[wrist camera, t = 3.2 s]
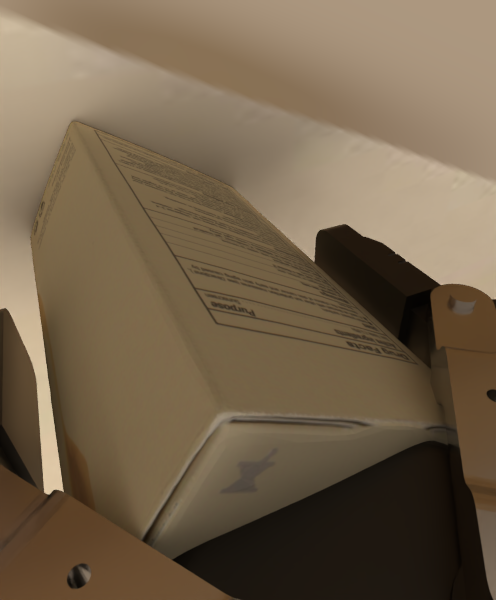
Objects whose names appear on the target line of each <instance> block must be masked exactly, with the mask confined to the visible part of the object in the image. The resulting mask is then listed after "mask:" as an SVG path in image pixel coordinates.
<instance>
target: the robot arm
mask: <svg viewBox="0 0 496 600" xmlns="http://www.w3.org/2000/svg"><path fill="white" fill-rule="evenodd" d="M315 264H316V265H318V266H319V267H320V268H321V269H322V270H323V271H324V272H325V273H326V274H327V275H329V276H330V277H331V278H332V279H333V280H334V281H335V282H336V283H337V284H338V285H339V286H341V287H342V288H343V289H344V290H345V291H346V292H347V293H348V294H349V295H350V296H351V297H353V298H354V299H355V300H356V301H357V302H358V303H359V304H360V305H361V306H362V307H363V308H365V309H366V310H367V311H368V312H369V313H370V314H371V315H372V316H373V317H374V318H375V319H376V320H377V321H379V322H380V323H381V324H382V325H383V326H384V327H385V328H386V329H387V330H388V331H389V332H390V333H391V334H393V335H394V336H395V337H396V338H397V339H398V340H399V341H400V342H401V343H402V344H404V345H405V346H406V347H407V348H408V349H409V350H410V351H411V352H412V353H413V354H415V355H416V356H417V357H418V358H419V359H420V360H421V361H422V362H423V363H424V364H426V365H427V366H428V367H429V368H430V369H431V379H430V384H431V387H432V390H433V393H434V397H435V400H436V403H437V404H438V405H440V406H442V407H443V409H444V416H445V424H446V433H447V441H448V445H446V444H444V443H440V442H437V441H426V442H422V443H420V444H417V445H414V446H411V447H409V448H407V449H405V450H403V451H401V452H399V453H396V454H394V455H392V456H390V457H388V458H387V459H385V460H383V461H380V462H378V463H376V464H374V465H372V466H370V467H368V468H366V469H364V470H362V471H360V472H358V473H356V474H354V475H352V476H350V477H348V478H346V479H344V480H342V481H340V482H338V483H335V484H333V485H331V486H329V487H327V488H325V489H323V490H321V491H319V492H316V493H314V494H312V495H310V496H308V497H306V498H303V499H301V500H299V501H297V502H295V503H292V504H290V505H288V506H286V507H283V508H281V509H279V510H277V511H274V512H272V513H270V514H268V515H266V516H263V517H261V518H259V519H257V520H255V521H252V522H250V523H248V524H245V525H243V526H241V527H239V528H236V529H234V530H232V531H230V532H227V533H225V534H223V535H220V536H218V537H216V538H213V539H211V540H209V541H207V542H205V543H202V544H200V545H198V546H196V547H194V548H192V549H190V550H188V551H186V552H185V553H183V554H181V555H179V556H177V557H176V558H174V559H172V560H171V559H170V558H168V557H166V556H165V555H163V554H162V553H160V552H158V551H157V550H155V549H154V548H152V547H151V546H149V545H147V544H146V543H144V542H143V541H141V540H139V539H138V538H136V537H135V536H133V535H132V534H130V533H128V532H127V531H125V530H124V529H122V528H120V527H119V526H117V525H116V524H114V523H113V522H111V521H109V520H108V519H106V518H105V517H103V516H101V515H100V514H98V513H97V512H95V511H94V510H92V509H90V508H89V507H87V506H86V505H84V504H82V503H81V502H79V501H78V500H76V499H75V498H73V497H71V496H70V495H68V494H66V493H64V492H62V491H59V490H54V491H53V492H52V493H51V494H50V495H48V494H45V493H44V486H43V471H42V457H41V442H40V428H39V413H38V398H37V384H36V377H35V373H34V369H33V365H32V362H31V360H30V357H29V355H28V353H27V350H26V348H25V346H24V344H23V342H22V339H21V337H20V335H19V333H18V330H17V328H16V326H15V324H14V322H13V319H12V317H11V315H10V313H9V311H8V310H7V309H6V308H4V309H0V600H496V299H495V300H492V299H491V298H490V297H489V296H488V295H487V294H485V293H484V292H482V291H480V290H478V289H476V288H473V287H470V286H466V285H461V284H445V285H440V284H438V283H437V282H436V281H434V280H433V279H431V278H430V277H429V276H427V275H426V274H424V273H423V272H422V271H420V270H419V269H418V268H416V267H415V266H413V265H412V264H411V263H409V262H406V261H405V259H404V258H402V257H401V256H399V255H398V254H395V252H394V251H393V250H391V249H390V248H388V247H387V246H386V245H384V244H383V243H381V242H378V241H375V240H372V239H370V238H367V237H363V236H362V235H360V234H359V233H358V232H356V231H355V230H353V229H352V228H351V227H349V226H348V225H346V224H343V225H339V226H335V227H331V228H327V229H323V230H320V231H319V232H318V233H317V236H316V247H315Z"/></svg>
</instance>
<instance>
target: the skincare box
mask: <svg viewBox="0 0 496 600" xmlns="http://www.w3.org/2000/svg"><path fill="white" fill-rule="evenodd" d="M31 248H32V256H33V265H34V272H35V280H36V287H37V294H38V302H39V309H40V317H41V324H42V331H43V339H44V347H45V355H46V364H47V371H48V379H49V386H50V392H51V403H52V409H53V417H54V424H55V432H56V439H57V446H58V453H59V460H60V468H61V475H62V482H63V490H64V493H66V494H68V495H70V496H71V497H73V498H75V499H76V500H78V501H79V502H81V503H82V504H84V505H86V506H87V507H89V508H90V509H92V510H94V511H95V512H97V513H98V514H100V515H101V516H103V517H105V518H106V519H108V520H109V521H111V522H113V523H114V524H116V525H117V526H119V527H120V528H122V529H124V530H125V531H127V532H128V533H130V534H132V535H133V536H135V537H136V538H138V539H139V540H141V541H143V542H144V543H146V544H147V545H149V546H151V547H152V548H154V549H155V550H157V551H158V552H160V553H162V554H163V555H165V556H166V557H168V558H170V559H171V560H172V559H174V558H176V557H177V556H179V555H181V554H183V553H185V552H186V551H188V550H190V549H192V548H194V547H196V546H198V545H200V544H202V543H205V542H207V541H209V540H211V539H213V538H216V537H218V536H220V535H223V534H225V533H227V532H230V531H232V530H234V529H236V528H239V527H241V526H243V525H245V524H248V523H250V522H252V521H255V520H257V519H259V518H261V517H263V516H266V515H268V514H270V513H272V512H274V511H277V510H279V509H281V508H283V507H286V506H288V505H290V504H292V503H295V502H297V501H299V500H301V499H303V498H306V497H308V496H310V495H312V494H314V493H316V492H319V491H321V490H323V489H325V488H327V487H329V486H331V485H333V484H335V483H338V482H340V481H342V480H344V479H346V478H348V477H350V476H352V475H354V474H356V473H358V472H360V471H362V470H364V469H366V468H368V467H370V466H372V465H374V464H376V463H378V462H380V461H383V460H385V459H387V458H388V457H390V456H392V455H394V454H396V453H399V452H401V451H403V450H405V449H407V448H409V447H411V446H414V445H417V444H420V443H422V442H426V441H437V442H440V443H444V444H446V445H448V441H447V433H446V424H445V416H444V409H443V407H442V406H440V405H438V404H437V403H436V400H435V397H434V393H433V390H432V387H431V384H430V379H431V369H430V368H429V367H428V366H427V365H426V364H424V363H423V362H422V361H421V360H420V359H419V358H418V357H417V356H416V355H415V354H413V353H412V352H411V351H410V350H409V349H408V348H407V347H406V346H405V345H404V344H402V343H401V342H400V341H399V340H398V339H397V338H396V337H395V336H394V335H393V334H391V333H390V332H389V331H388V330H387V329H386V328H385V327H384V326H383V325H382V324H381V323H380V322H379V321H377V320H376V319H375V318H374V317H373V316H372V315H371V314H370V313H369V312H368V311H367V310H366V309H365V308H363V307H362V306H361V305H360V304H359V303H358V302H357V301H356V300H355V299H354V298H353V297H351V296H350V295H349V294H348V293H347V292H346V291H345V290H344V289H343V288H342V287H341V286H339V285H338V284H337V283H336V282H335V281H334V280H333V279H332V278H331V277H330V276H329V275H327V274H326V273H325V272H324V271H323V270H322V269H321V268H320V267H319V266H318V265H316V264H315V263H314V262H313V261H312V260H311V259H310V258H309V257H308V256H307V255H305V254H304V253H303V252H302V251H301V250H300V249H299V248H298V247H297V246H296V245H294V244H293V243H292V242H291V241H290V240H289V239H288V238H287V237H286V236H285V235H284V234H283V233H281V232H280V231H279V230H278V229H277V228H276V227H275V226H274V225H273V224H272V223H271V222H269V221H268V220H267V219H266V218H265V217H264V216H263V215H262V214H261V213H259V212H258V211H257V210H256V209H255V208H254V207H253V206H252V205H251V204H250V203H249V202H248V201H247V200H246V199H245V198H243V197H242V196H241V195H240V194H239V193H238V192H237V191H236V190H235V189H234V188H232V187H230V186H228V185H226V184H224V183H222V182H220V181H218V180H216V179H214V178H212V177H209V176H207V175H205V174H203V173H200V172H198V171H196V170H194V169H192V168H189V167H187V166H185V165H183V164H180V163H178V162H176V161H173V160H171V159H169V158H166V157H164V156H161V155H159V154H157V153H154V152H152V151H150V150H147V149H145V148H142V147H140V146H137V145H135V144H133V143H130V142H128V141H125V140H123V139H120V138H118V137H115V136H112V135H110V134H107V133H105V132H102V131H99V130H97V129H94V128H91V127H89V126H86V125H84V124H81V123H78V122H72V123H71V124H70V126H69V128H68V130H67V133H66V135H65V138H64V141H63V143H62V146H61V148H60V151H59V153H58V156H57V159H56V161H55V164H54V167H53V170H52V172H51V175H50V178H49V180H48V183H47V186H46V189H45V192H44V195H43V198H42V201H41V203H40V207H39V210H38V213H37V216H36V220H35V223H34V227H33V230H32V234H31Z"/></svg>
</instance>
